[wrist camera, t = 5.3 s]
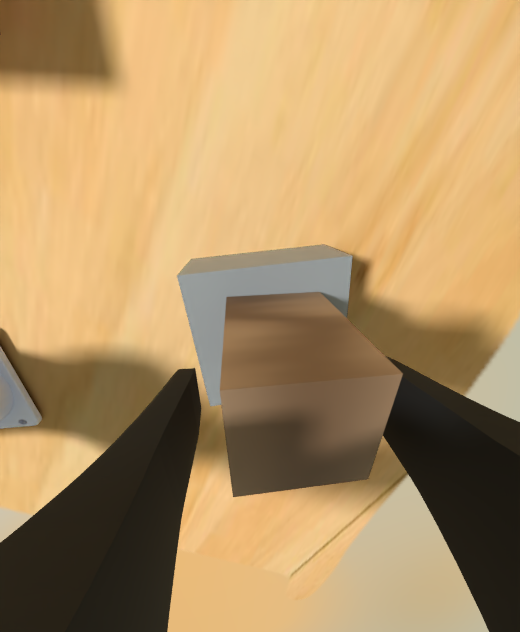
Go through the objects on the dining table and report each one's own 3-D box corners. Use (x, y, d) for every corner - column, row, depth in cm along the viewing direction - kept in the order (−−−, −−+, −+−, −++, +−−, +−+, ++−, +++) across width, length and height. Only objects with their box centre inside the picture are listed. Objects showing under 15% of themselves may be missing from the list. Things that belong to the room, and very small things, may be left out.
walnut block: (233, 372, 13) (233, 497, 7) (226, 296, 11) (220, 390, 5) (311, 366, 13) (367, 479, 8) (319, 291, 11) (403, 374, 6)
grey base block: (215, 364, 17) (210, 406, 13) (192, 257, 14) (177, 275, 10) (318, 350, 17) (340, 387, 14) (322, 243, 14) (352, 255, 10)
